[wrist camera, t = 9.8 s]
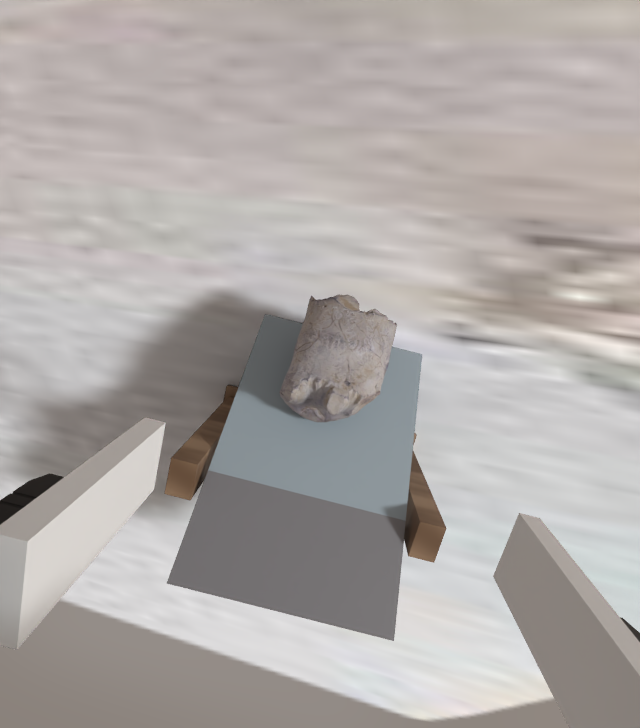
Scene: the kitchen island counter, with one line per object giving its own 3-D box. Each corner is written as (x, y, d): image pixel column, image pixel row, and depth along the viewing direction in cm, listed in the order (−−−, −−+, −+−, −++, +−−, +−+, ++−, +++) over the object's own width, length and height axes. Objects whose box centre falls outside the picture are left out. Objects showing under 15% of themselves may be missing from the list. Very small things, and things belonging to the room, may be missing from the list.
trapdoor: (264, 336, 44) (265, 313, 40) (409, 373, 44) (422, 354, 40) (176, 585, 31) (166, 583, 28) (378, 636, 31) (393, 640, 28)
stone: (272, 422, 35) (277, 385, 29) (309, 315, 41) (319, 267, 35) (362, 450, 35) (386, 418, 29) (385, 338, 41) (409, 294, 35)
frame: (228, 384, 47) (166, 443, 30) (415, 432, 47) (457, 518, 30) (219, 424, 48) (155, 503, 31) (402, 471, 48) (436, 575, 31)
